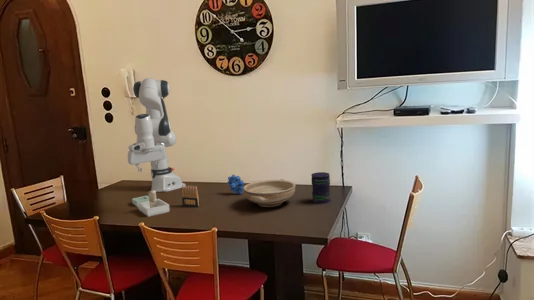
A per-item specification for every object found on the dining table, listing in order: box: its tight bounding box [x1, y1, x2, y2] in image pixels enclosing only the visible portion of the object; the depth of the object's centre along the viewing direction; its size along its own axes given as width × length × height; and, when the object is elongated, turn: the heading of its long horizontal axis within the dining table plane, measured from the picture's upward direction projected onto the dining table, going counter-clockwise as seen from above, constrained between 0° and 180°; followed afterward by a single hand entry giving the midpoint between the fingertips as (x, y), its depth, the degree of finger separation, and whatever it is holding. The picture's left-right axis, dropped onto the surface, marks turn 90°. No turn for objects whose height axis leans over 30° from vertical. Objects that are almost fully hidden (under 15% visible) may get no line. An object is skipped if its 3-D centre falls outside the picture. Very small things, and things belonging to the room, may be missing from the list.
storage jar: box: [311, 171, 332, 205], centre depth 225 cm, size 10×10×15 cm
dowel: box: [147, 190, 158, 208], centre depth 228 cm, size 4×4×10 cm
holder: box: [131, 195, 149, 208], centre depth 246 cm, size 9×9×3 cm
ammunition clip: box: [181, 185, 201, 208], centre depth 233 cm, size 11×2×12 cm, turn 65°
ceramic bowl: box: [242, 178, 296, 208], centre depth 228 cm, size 37×29×10 cm
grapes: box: [227, 174, 245, 195], centre depth 251 cm, size 12×7×12 cm, turn 65°
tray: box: [137, 198, 171, 218], centre depth 229 cm, size 12×16×4 cm
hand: (148, 169), depth 226 cm, fingers open, 8 cm apart
